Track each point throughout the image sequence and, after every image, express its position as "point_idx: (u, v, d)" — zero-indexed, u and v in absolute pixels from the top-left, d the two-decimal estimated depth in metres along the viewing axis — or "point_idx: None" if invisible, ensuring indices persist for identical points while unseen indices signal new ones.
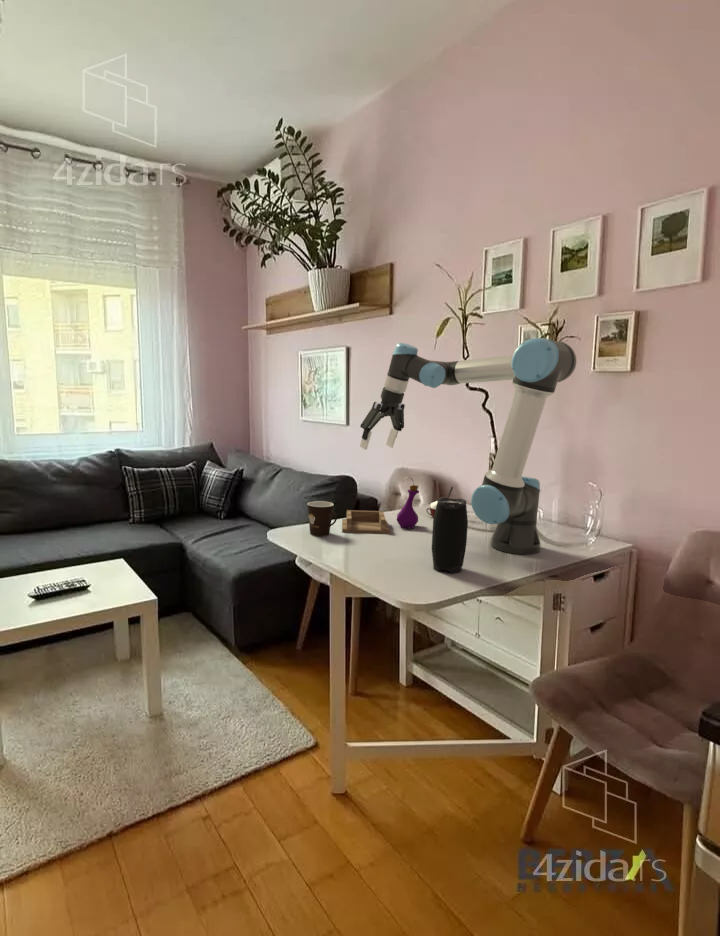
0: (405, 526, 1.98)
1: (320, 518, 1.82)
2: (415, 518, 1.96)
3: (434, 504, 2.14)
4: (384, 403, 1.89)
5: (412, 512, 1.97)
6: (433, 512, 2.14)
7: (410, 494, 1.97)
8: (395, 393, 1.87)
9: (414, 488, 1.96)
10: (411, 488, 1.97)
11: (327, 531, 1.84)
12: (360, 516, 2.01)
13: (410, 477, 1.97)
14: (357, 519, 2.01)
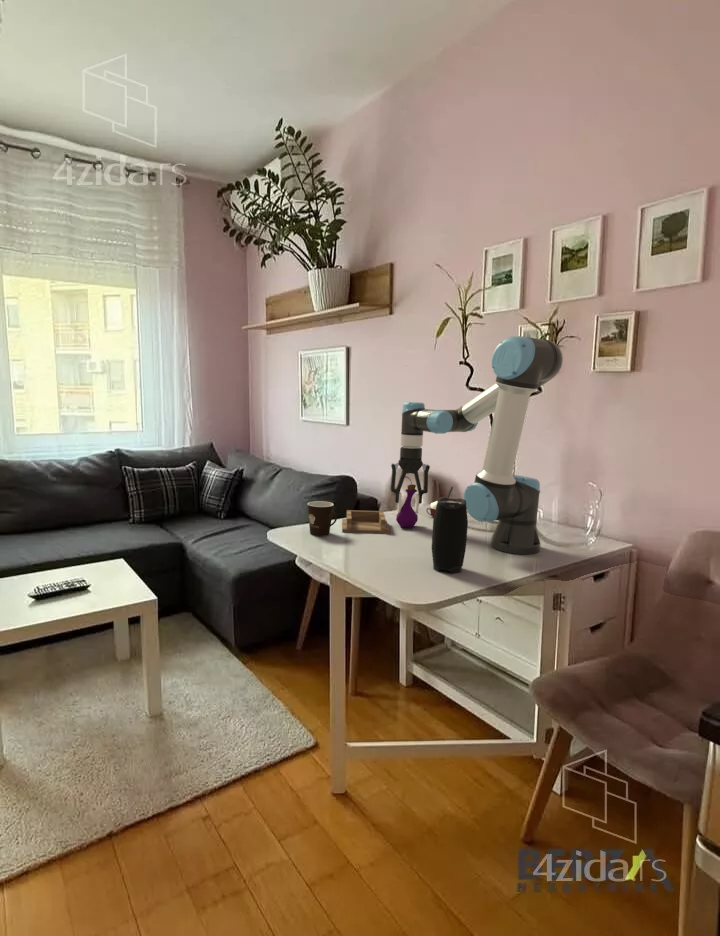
0: (405, 526, 1.98)
1: (320, 518, 1.82)
2: (414, 517, 1.96)
3: (434, 504, 2.14)
4: (400, 460, 1.96)
5: (411, 511, 1.97)
6: (433, 512, 2.14)
7: (408, 493, 1.97)
8: (406, 448, 1.93)
9: (412, 487, 1.96)
10: (409, 487, 1.97)
11: (327, 531, 1.84)
12: (360, 516, 2.01)
13: None
14: (357, 519, 2.01)
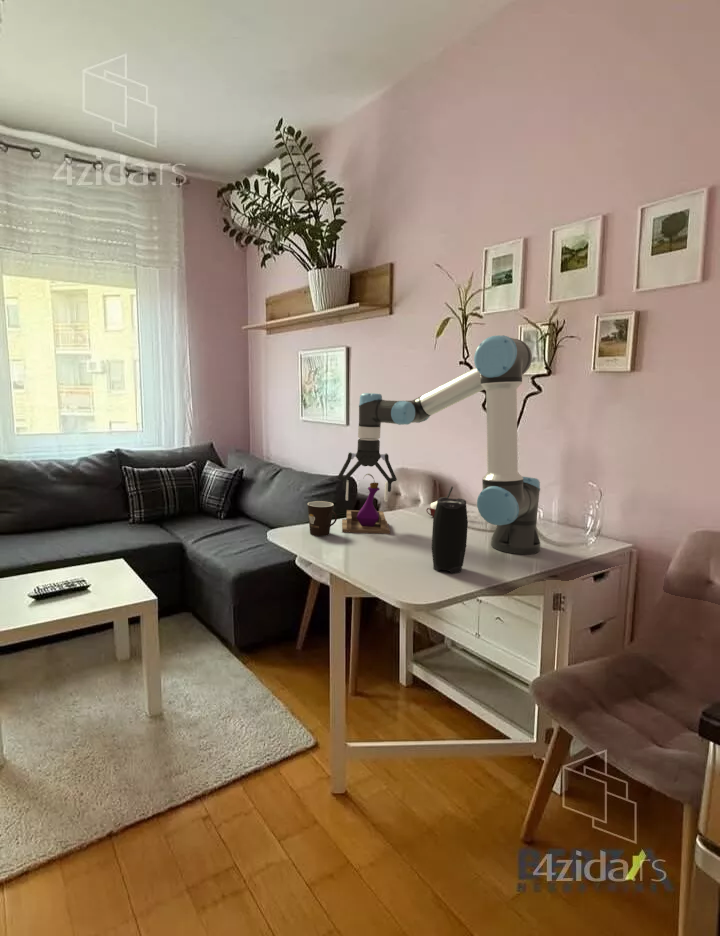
0: (365, 524, 1.94)
1: (320, 518, 1.82)
2: (375, 516, 1.92)
3: (434, 504, 2.14)
4: (357, 452, 1.92)
5: (372, 510, 1.93)
6: (433, 512, 2.14)
7: (370, 491, 1.94)
8: (363, 440, 1.89)
9: (374, 485, 1.93)
10: (371, 485, 1.93)
11: (327, 531, 1.84)
12: None
13: (370, 474, 1.94)
14: (357, 519, 2.01)
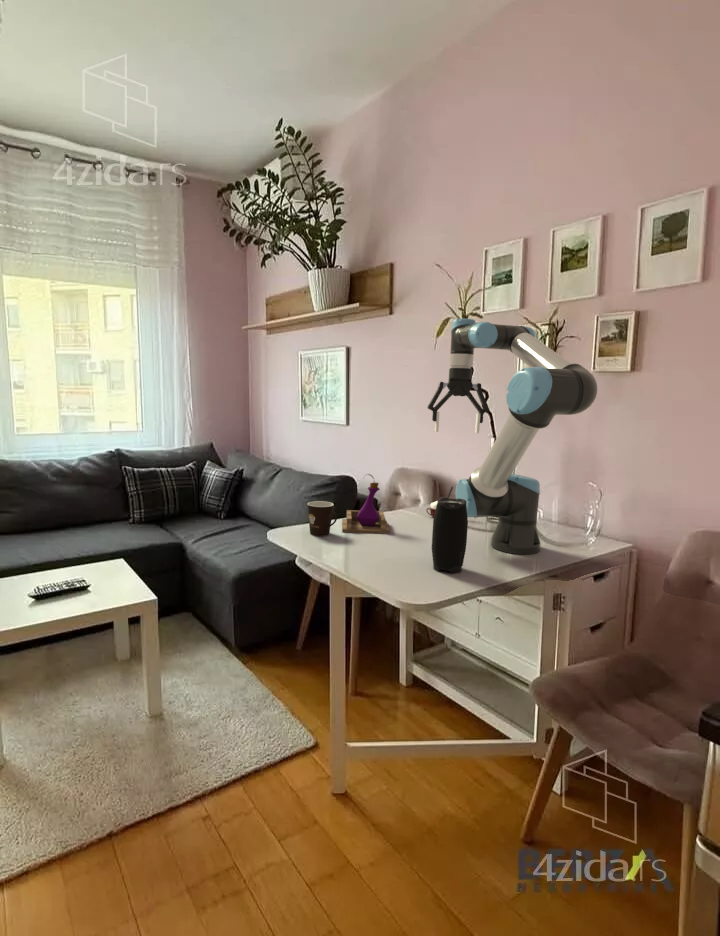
0: (365, 524, 1.94)
1: (320, 518, 1.82)
2: (375, 516, 1.92)
3: (434, 504, 2.14)
4: (449, 381, 1.85)
5: (372, 510, 1.93)
6: (433, 512, 2.14)
7: (370, 491, 1.94)
8: (456, 368, 1.82)
9: (374, 485, 1.93)
10: (371, 485, 1.93)
11: (327, 531, 1.84)
12: None
13: (370, 474, 1.94)
14: (357, 519, 2.01)
